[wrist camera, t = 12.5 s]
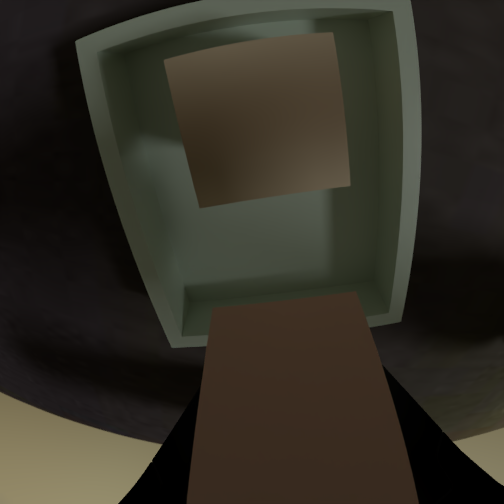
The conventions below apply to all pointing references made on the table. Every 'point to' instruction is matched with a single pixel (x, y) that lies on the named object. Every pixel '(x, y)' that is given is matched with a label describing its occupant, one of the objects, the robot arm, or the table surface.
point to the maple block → (261, 118)
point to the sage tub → (271, 208)
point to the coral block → (296, 409)
